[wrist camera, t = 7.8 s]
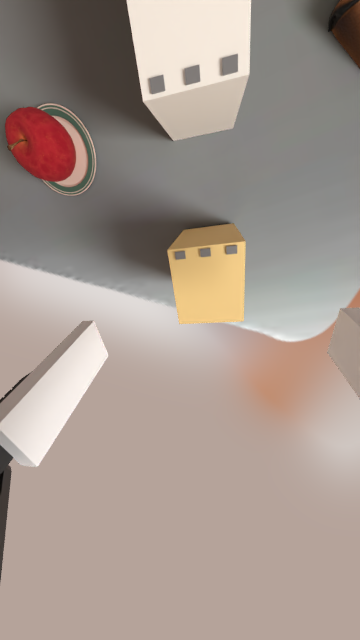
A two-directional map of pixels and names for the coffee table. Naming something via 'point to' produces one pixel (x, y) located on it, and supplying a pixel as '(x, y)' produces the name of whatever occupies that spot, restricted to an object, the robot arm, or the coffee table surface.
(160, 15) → the white box
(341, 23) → the sunglasses case
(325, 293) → the coffee table surface
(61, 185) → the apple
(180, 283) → the stub
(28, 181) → the coffee table surface
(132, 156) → the coffee table surface
